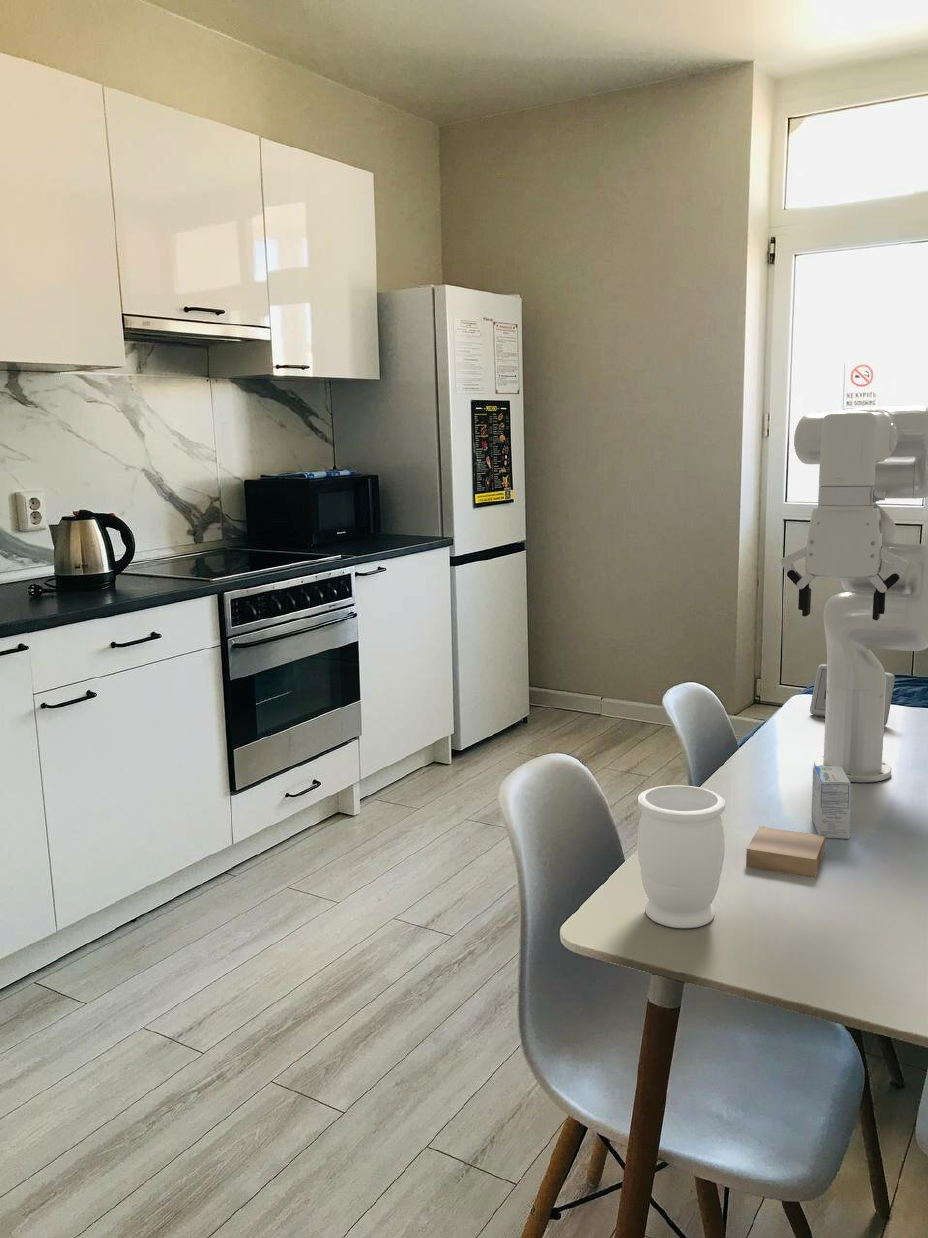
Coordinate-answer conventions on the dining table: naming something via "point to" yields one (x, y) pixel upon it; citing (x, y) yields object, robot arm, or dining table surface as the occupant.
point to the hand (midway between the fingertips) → (840, 617)
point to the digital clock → (820, 693)
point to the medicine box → (831, 802)
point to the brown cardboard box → (786, 851)
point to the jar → (680, 853)
